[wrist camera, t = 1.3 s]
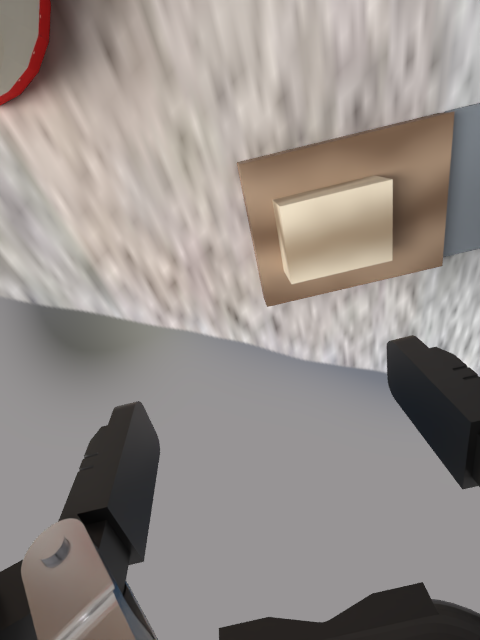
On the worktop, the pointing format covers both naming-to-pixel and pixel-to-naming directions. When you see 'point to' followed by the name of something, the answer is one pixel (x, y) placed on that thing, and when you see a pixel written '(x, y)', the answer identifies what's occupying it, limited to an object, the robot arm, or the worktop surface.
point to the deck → (346, 165)
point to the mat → (464, 183)
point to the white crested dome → (21, 43)
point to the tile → (335, 228)
